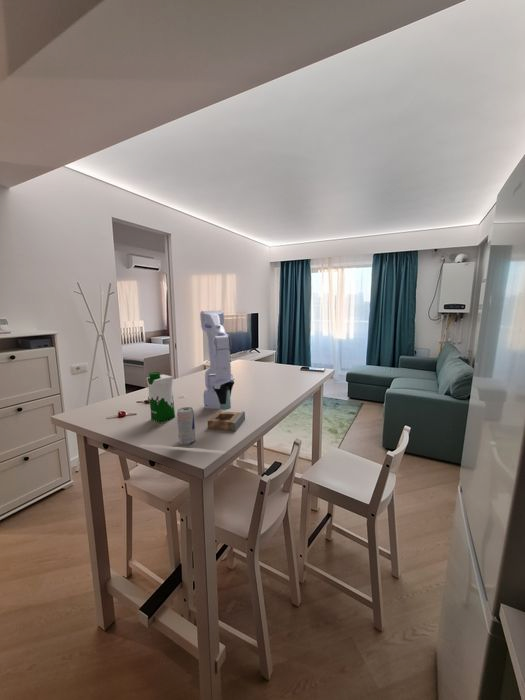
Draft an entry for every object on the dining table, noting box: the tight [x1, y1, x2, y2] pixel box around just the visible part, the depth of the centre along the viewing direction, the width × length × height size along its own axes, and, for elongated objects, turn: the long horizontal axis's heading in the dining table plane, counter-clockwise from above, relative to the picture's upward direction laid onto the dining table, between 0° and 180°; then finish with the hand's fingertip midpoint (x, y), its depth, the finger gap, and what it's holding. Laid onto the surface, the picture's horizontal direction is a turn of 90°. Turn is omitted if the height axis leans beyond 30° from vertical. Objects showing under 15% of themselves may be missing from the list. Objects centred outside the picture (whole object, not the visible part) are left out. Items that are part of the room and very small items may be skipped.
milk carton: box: [145, 371, 176, 424], centre depth 124 cm, size 9×9×20 cm
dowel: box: [219, 389, 232, 411], centre depth 115 cm, size 4×4×7 cm
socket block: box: [207, 410, 241, 431], centre depth 116 cm, size 10×10×3 cm
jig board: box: [232, 411, 246, 433], centre depth 117 cm, size 20×12×4 cm, turn 76°
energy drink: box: [176, 406, 197, 446], centre depth 102 cm, size 5×5×12 cm
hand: (225, 401), depth 115 cm, fingers closed on dowel, 4 cm apart
